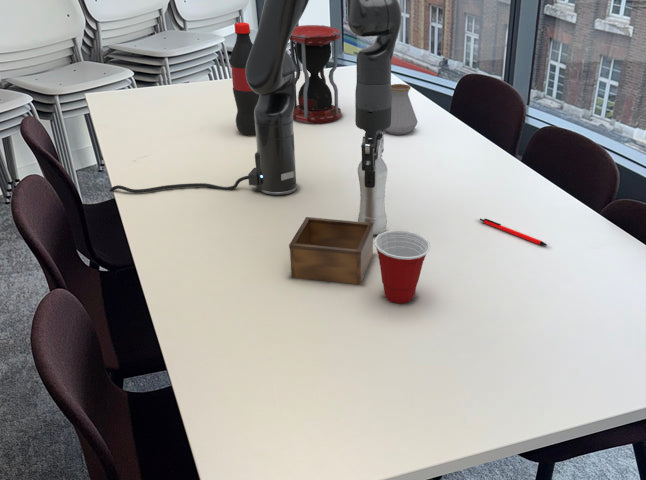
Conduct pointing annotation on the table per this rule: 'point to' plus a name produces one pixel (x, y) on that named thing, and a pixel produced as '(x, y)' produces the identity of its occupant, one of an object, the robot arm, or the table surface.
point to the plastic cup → (400, 263)
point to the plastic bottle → (373, 197)
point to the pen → (512, 231)
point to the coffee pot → (401, 111)
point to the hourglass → (315, 73)
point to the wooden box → (331, 250)
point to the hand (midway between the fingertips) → (372, 180)
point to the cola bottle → (243, 81)
